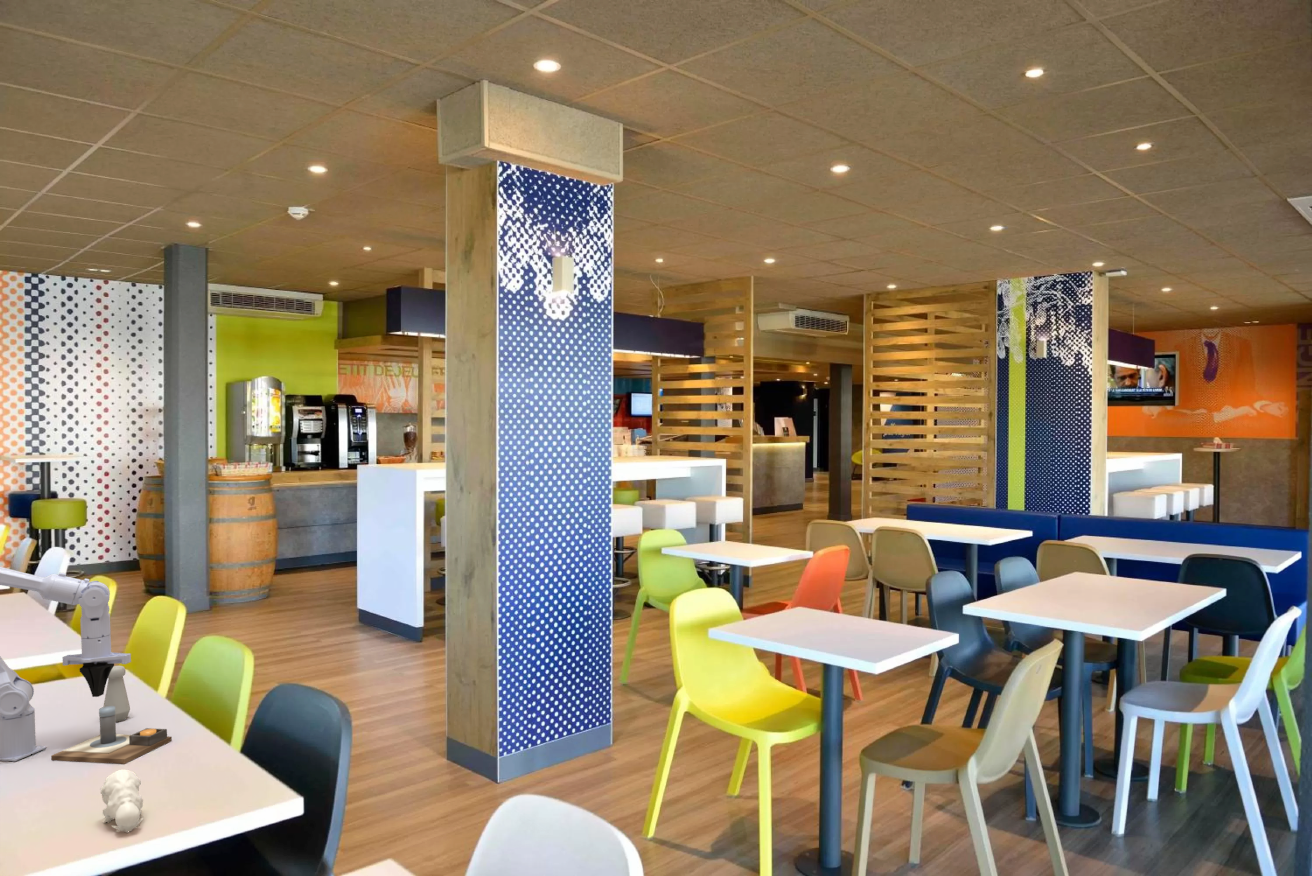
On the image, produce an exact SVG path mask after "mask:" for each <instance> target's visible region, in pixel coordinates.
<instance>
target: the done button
mask: <svg viewBox="0 0 1312 876" xmlns="http://www.w3.org/2000/svg"><path fill="white" fill-rule="evenodd" d="M145 729H146V728H145ZM156 729H157V728H153V729H146V730H144V729H142V730H143V731H142V730H140V731H141V732H140V736H150V735H153V734H155V733H156Z"/></svg>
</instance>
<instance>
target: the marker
mask: <svg viewBox="0 0 1312 876" xmlns="http://www.w3.org/2000/svg"><path fill="white" fill-rule="evenodd" d="M115 714H116V713H115V706H106V707H101V708H99V709H98V716H99V735H100V743H101V744H109V743H113V742H115V741H116V734H117V730H116V729H117V727H116V726H117V725H116V723H117V722H116V721H115Z"/></svg>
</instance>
